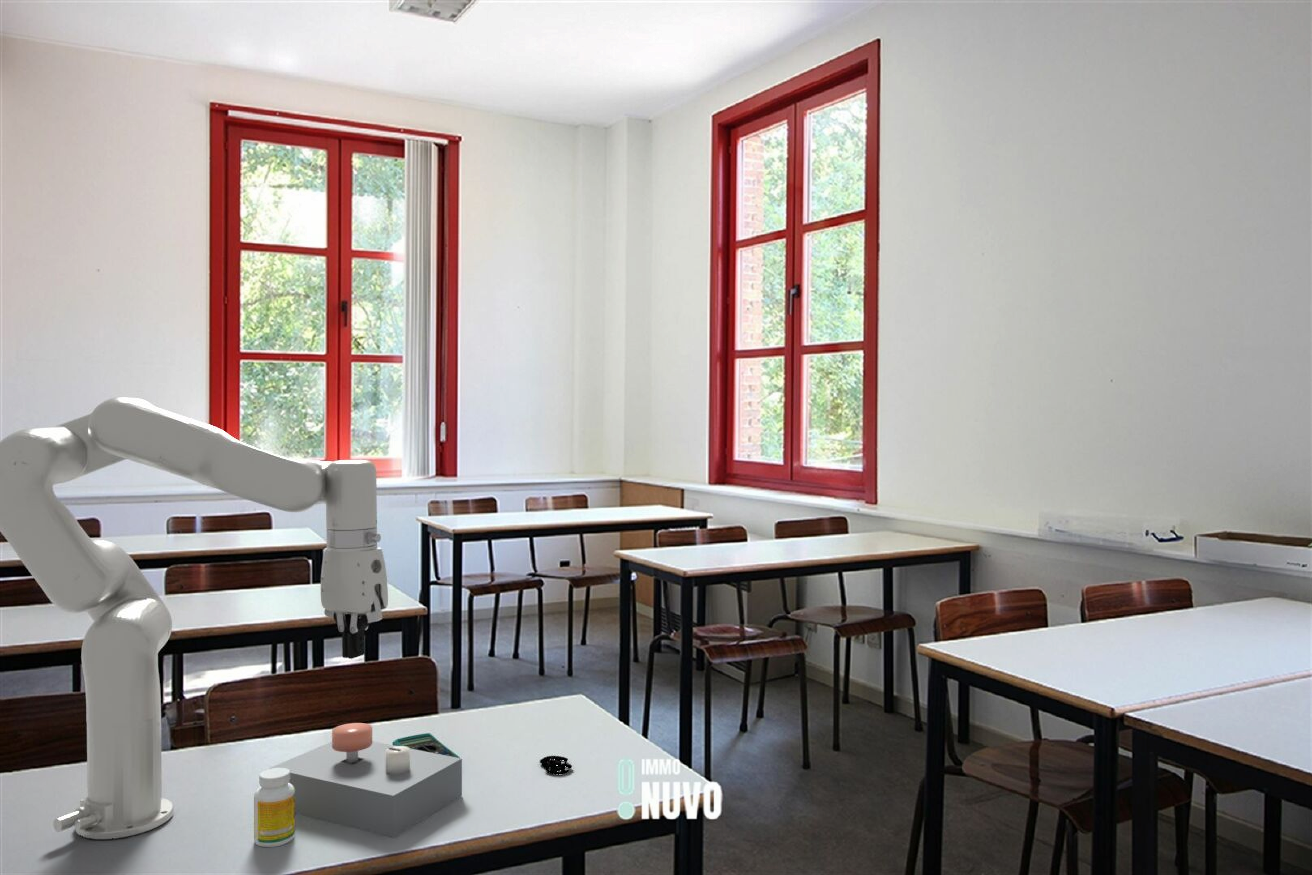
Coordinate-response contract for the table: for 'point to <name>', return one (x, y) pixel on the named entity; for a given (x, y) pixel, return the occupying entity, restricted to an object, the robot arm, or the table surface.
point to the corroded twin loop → (553, 763)
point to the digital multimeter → (424, 744)
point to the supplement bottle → (274, 808)
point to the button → (352, 739)
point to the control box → (372, 787)
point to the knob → (397, 759)
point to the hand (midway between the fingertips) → (353, 655)
